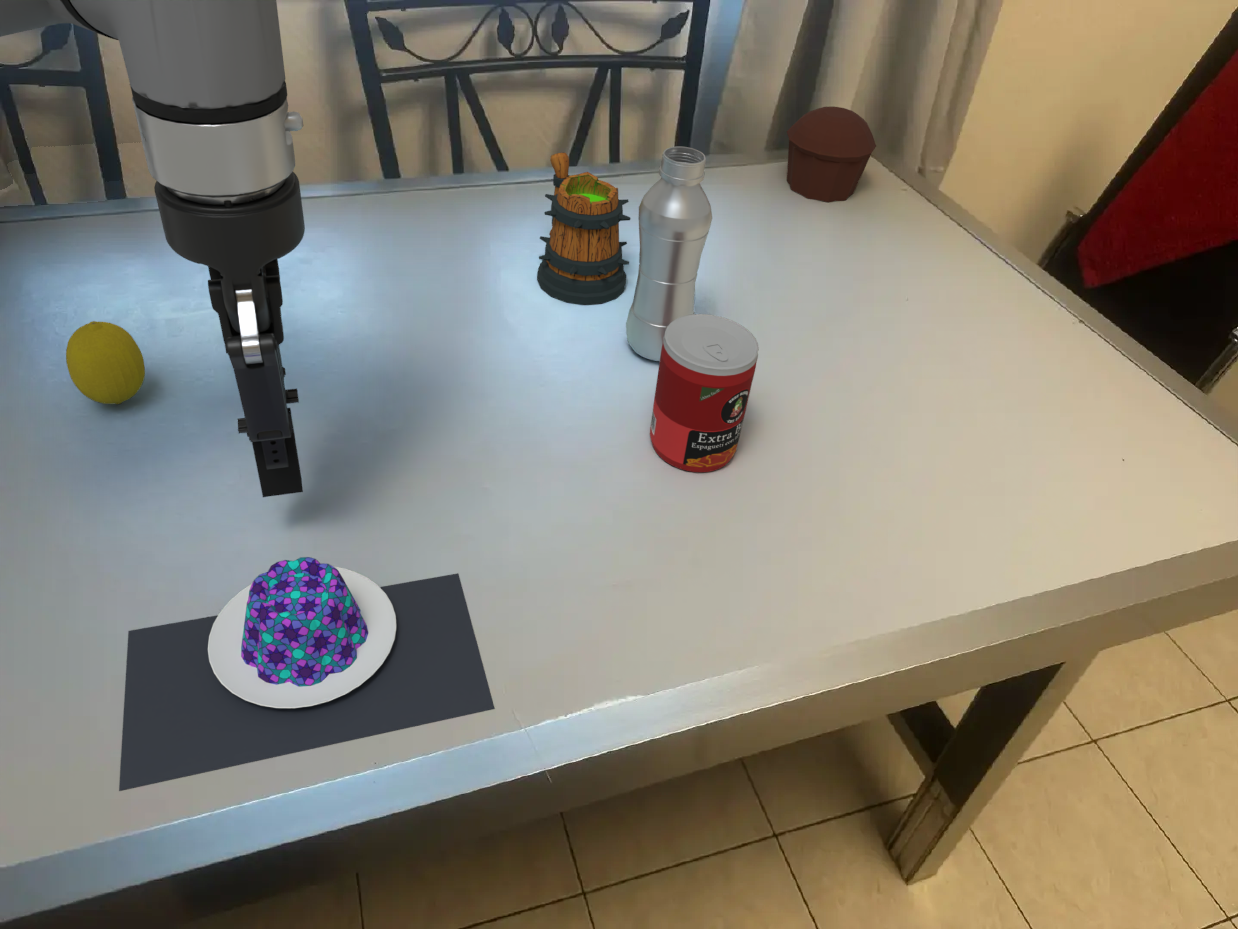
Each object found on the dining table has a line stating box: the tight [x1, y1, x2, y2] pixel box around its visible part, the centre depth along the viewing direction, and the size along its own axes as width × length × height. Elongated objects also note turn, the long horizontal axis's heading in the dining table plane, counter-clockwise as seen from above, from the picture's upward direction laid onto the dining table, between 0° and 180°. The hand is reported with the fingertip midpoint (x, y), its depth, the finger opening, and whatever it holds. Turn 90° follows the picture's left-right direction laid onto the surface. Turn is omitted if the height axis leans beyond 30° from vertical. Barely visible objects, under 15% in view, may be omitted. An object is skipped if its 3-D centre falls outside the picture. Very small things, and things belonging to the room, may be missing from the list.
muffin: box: [786, 106, 877, 203], centre depth 123 cm, size 12×11×10 cm
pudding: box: [208, 556, 396, 708], centre depth 62 cm, size 12×12×5 cm
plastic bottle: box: [625, 146, 713, 362], centre depth 87 cm, size 6×7×20 cm
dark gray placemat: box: [118, 573, 496, 792], centre depth 62 cm, size 22×12×1 cm, turn 108°
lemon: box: [65, 320, 146, 405], centre depth 78 cm, size 6×6×8 cm
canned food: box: [649, 313, 760, 473], centre depth 80 cm, size 8×8×11 cm
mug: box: [536, 152, 632, 306], centre depth 100 cm, size 13×10×12 cm
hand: (282, 487), depth 68 cm, fingers closed
